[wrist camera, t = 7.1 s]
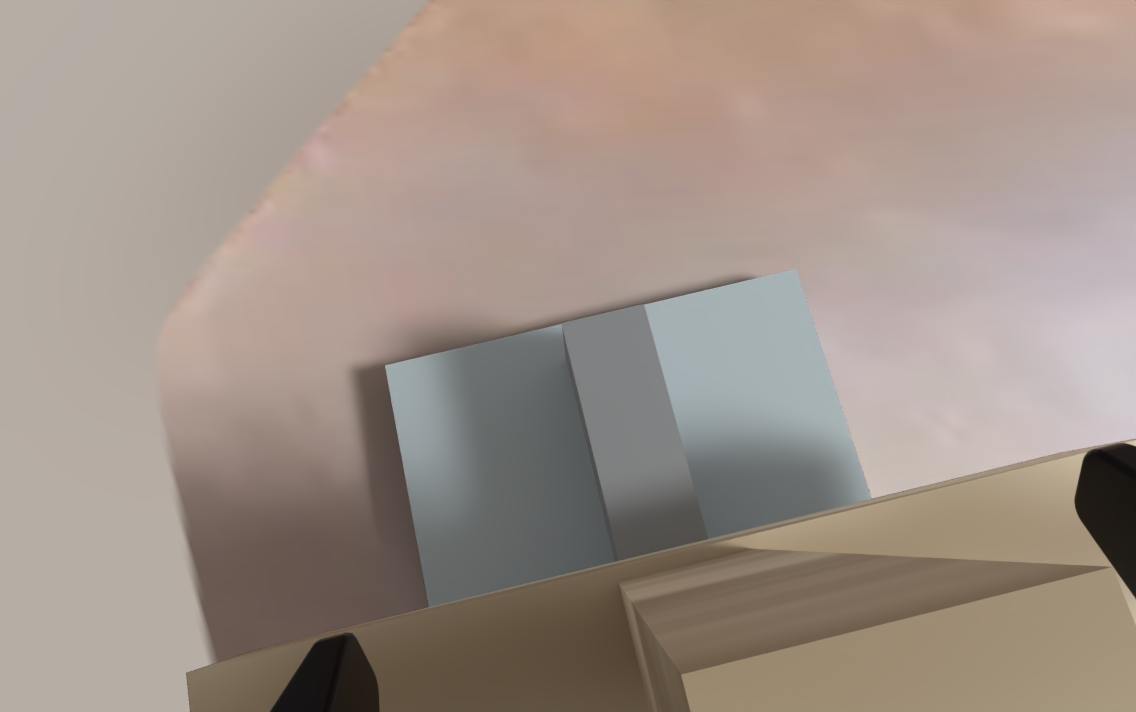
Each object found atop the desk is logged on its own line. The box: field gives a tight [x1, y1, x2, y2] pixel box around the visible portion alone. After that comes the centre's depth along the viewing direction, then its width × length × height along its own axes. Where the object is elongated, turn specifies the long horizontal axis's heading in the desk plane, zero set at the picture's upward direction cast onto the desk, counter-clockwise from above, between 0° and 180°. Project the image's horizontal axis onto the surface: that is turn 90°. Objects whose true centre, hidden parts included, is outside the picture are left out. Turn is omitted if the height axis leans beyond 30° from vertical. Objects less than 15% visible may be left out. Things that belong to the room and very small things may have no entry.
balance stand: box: [385, 269, 872, 607], centre depth 18 cm, size 16×12×4 cm
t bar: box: [186, 439, 1136, 712], centre depth 10 cm, size 3×18×12 cm, turn 103°
